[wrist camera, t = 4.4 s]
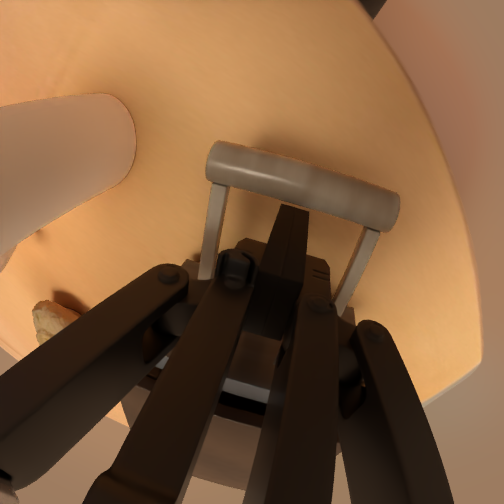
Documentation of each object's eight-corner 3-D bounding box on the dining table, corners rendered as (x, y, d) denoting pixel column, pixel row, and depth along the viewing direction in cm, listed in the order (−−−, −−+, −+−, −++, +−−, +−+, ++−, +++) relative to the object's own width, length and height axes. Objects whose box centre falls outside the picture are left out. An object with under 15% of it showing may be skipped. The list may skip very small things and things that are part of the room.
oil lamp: (121, 388, 32) (104, 416, 28) (41, 314, 29) (19, 338, 25) (158, 369, 28) (138, 405, 23) (58, 274, 24) (27, 302, 20)
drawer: (206, 122, 14) (119, 141, 8) (410, 181, 14) (478, 247, 7) (178, 374, 26) (146, 439, 19) (292, 408, 25) (279, 479, 18)
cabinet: (181, 275, 21) (112, 374, 12) (348, 324, 20) (351, 444, 12) (175, 382, 28) (140, 455, 20) (288, 416, 27) (273, 496, 19)
